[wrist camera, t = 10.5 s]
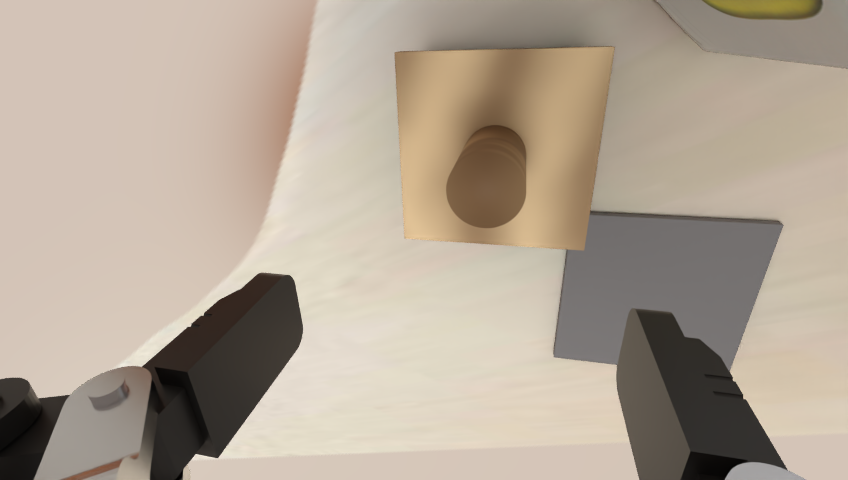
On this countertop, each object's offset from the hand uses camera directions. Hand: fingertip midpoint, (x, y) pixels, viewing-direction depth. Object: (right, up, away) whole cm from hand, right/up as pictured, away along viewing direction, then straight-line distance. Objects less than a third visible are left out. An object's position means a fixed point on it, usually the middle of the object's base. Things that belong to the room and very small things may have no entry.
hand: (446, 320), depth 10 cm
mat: (+17, -2, +22) cm, 28 cm away
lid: (+4, +7, +15) cm, 17 cm away
